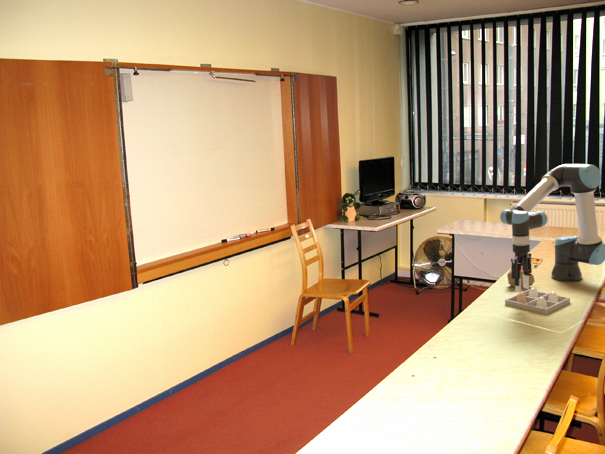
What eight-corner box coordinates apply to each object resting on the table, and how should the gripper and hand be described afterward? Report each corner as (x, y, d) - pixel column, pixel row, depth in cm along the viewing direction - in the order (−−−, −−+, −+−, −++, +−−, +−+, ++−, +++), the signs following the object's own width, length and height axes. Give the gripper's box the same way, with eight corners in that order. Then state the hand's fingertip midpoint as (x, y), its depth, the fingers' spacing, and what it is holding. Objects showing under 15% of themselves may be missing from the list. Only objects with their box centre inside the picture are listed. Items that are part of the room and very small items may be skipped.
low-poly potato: (500, 286, 286) (507, 282, 275) (503, 267, 289) (510, 263, 278) (528, 293, 284) (536, 289, 273) (531, 274, 287) (539, 269, 276)
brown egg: (519, 301, 258) (519, 290, 257) (527, 303, 255) (527, 292, 254) (515, 304, 256) (514, 292, 255) (522, 306, 252) (522, 294, 251)
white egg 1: (531, 296, 264) (531, 285, 263) (539, 298, 260) (539, 287, 259) (526, 298, 262) (526, 288, 260) (534, 300, 258) (534, 289, 257)
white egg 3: (551, 301, 256) (551, 289, 255) (559, 302, 252) (559, 291, 251) (546, 303, 253) (546, 292, 252) (554, 305, 250) (554, 293, 249)
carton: (529, 295, 268) (529, 289, 268) (570, 303, 252) (570, 297, 251) (505, 305, 257) (505, 299, 256) (546, 315, 240) (546, 309, 239)
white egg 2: (539, 306, 250) (539, 295, 249) (548, 308, 247) (548, 296, 245) (534, 308, 248) (534, 297, 246) (543, 310, 244) (543, 299, 243)
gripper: (524, 238, 258) (526, 283, 263) (502, 247, 247) (503, 293, 252) (539, 240, 252) (540, 286, 256) (516, 249, 241) (518, 296, 246)
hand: (522, 289), depth 254 cm, fingers open, 6 cm apart
